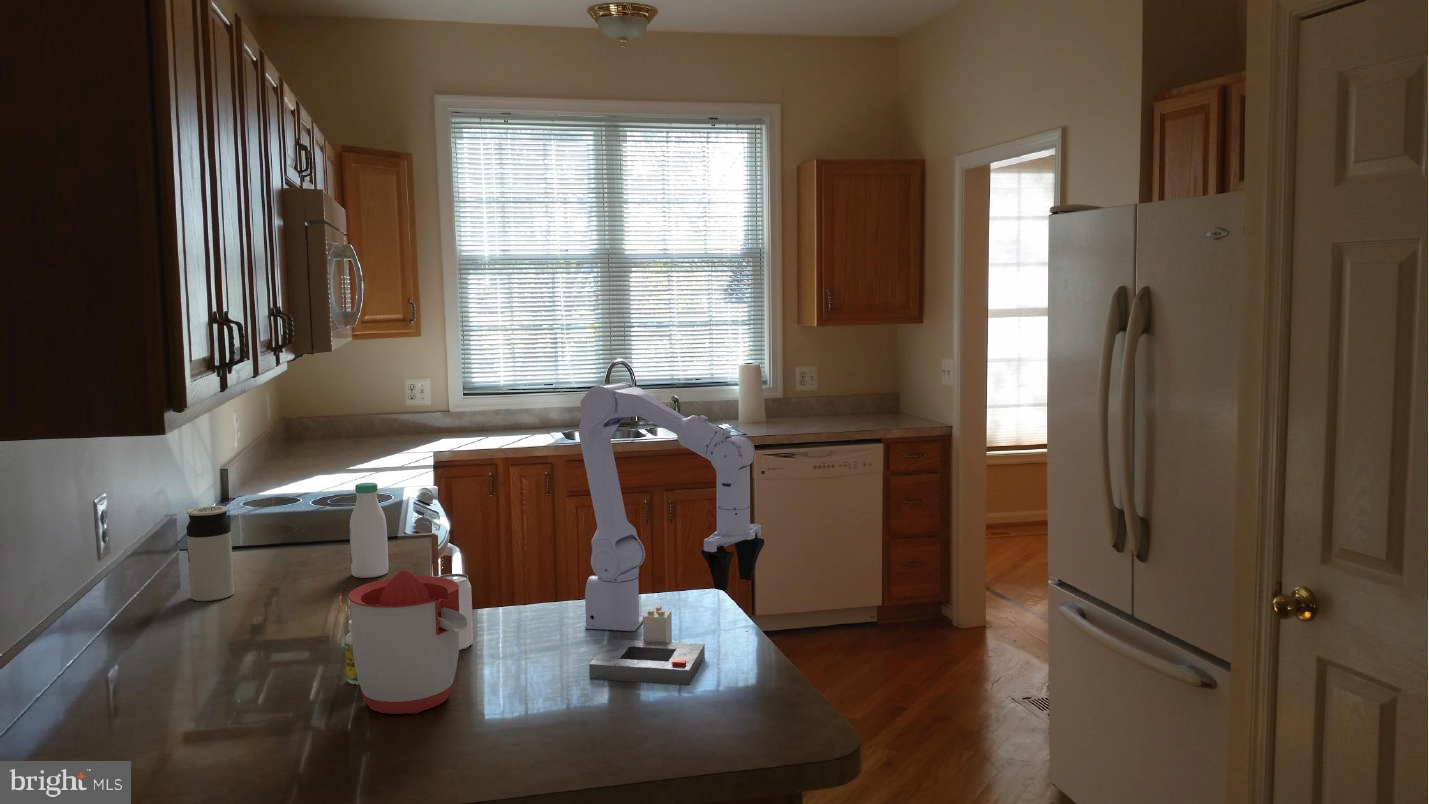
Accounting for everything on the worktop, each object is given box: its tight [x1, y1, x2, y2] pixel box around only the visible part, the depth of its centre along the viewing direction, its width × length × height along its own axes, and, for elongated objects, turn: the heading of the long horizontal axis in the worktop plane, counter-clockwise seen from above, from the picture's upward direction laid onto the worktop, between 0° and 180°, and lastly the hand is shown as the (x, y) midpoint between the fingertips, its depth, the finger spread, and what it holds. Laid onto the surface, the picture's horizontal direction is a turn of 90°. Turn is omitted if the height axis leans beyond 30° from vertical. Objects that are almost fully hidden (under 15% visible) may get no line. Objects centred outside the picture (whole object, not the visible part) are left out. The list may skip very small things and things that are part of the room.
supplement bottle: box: [344, 619, 360, 686], centre depth 160 cm, size 5×5×10 cm
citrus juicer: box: [348, 569, 467, 715], centre depth 151 cm, size 16×17×20 cm
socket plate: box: [588, 638, 706, 686], centre depth 164 cm, size 16×12×3 cm
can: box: [437, 573, 474, 651], centre depth 176 cm, size 6×6×12 cm
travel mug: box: [185, 505, 235, 602], centre depth 207 cm, size 8×8×18 cm
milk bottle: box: [349, 482, 389, 579], centre depth 223 cm, size 8×8×20 cm
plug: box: [642, 605, 673, 642], centre depth 174 cm, size 4×4×7 cm
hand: (733, 584), depth 176 cm, fingers open, 7 cm apart
